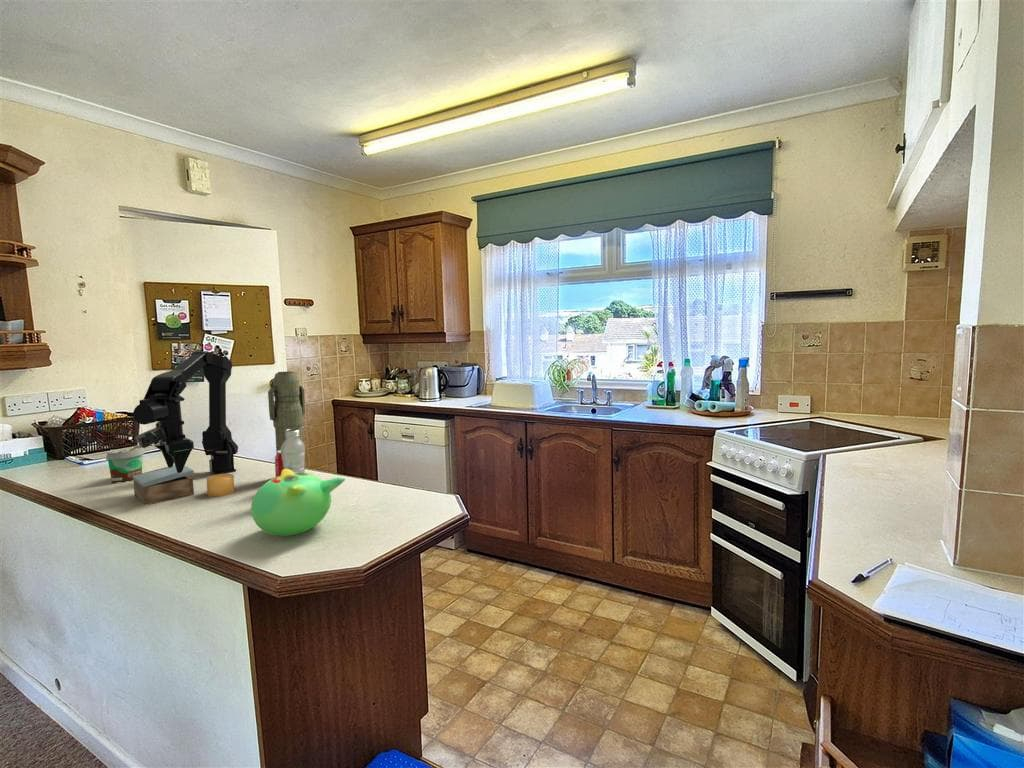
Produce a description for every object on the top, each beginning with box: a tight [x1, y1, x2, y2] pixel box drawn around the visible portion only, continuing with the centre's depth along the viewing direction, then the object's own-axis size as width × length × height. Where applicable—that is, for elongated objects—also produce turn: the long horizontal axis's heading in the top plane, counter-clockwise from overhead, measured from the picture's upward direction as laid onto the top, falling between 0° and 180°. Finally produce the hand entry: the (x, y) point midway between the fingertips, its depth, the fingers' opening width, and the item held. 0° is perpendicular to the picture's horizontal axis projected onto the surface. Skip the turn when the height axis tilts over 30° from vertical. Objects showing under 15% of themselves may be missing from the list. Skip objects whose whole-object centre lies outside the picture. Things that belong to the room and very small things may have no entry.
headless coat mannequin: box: [267, 371, 306, 473], centre depth 164 cm, size 9×12×35 cm
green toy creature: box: [250, 469, 346, 537], centre depth 119 cm, size 18×17×15 cm
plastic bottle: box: [281, 429, 306, 473], centre depth 142 cm, size 6×7×20 cm
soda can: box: [274, 450, 284, 477], centre depth 152 cm, size 7×7×12 cm
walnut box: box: [132, 475, 195, 506], centre depth 147 cm, size 12×12×5 cm
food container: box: [105, 445, 145, 484], centre depth 165 cm, size 12×6×10 cm, turn 179°
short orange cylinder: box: [205, 473, 235, 498], centre depth 150 cm, size 7×7×5 cm
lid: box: [132, 464, 195, 487], centre depth 147 cm, size 12×12×1 cm
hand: (174, 469), depth 149 cm, fingers open, 9 cm apart
